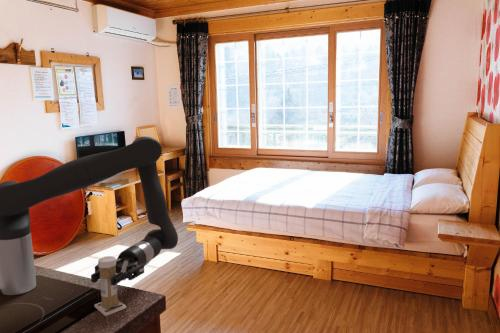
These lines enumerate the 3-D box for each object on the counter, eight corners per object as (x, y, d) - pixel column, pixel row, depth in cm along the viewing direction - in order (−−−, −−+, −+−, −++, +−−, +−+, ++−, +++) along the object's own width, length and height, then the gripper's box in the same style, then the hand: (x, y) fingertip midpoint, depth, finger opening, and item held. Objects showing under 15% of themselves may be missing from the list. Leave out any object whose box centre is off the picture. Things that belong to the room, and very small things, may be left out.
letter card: (94, 306, 111) (94, 304, 111) (114, 299, 115) (114, 297, 115) (105, 316, 106) (105, 314, 106) (126, 308, 110) (126, 305, 110)
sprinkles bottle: (120, 305, 110) (117, 259, 108) (103, 310, 108) (100, 263, 106) (116, 299, 114) (113, 254, 112) (99, 303, 112) (96, 257, 110)
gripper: (115, 243, 124) (78, 264, 108) (156, 247, 120) (124, 270, 104) (117, 265, 125) (80, 290, 109) (158, 271, 121) (126, 297, 105)
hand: (102, 280), depth 107 cm, fingers open, 5 cm apart
